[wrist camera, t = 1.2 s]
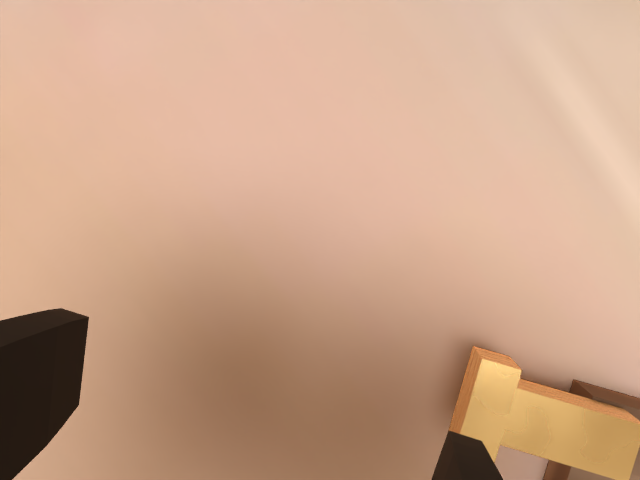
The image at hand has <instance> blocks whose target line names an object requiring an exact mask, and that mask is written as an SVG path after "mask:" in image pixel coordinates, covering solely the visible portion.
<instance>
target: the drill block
mask: <svg viewBox="0 0 640 480" xmlns="http://www.w3.org/2000/svg"><path fill="white" fill-rule="evenodd" d="M570 393H572V394H575V395H578V396H582V397H585V398H589V399H592V400H596V401H599V402H603V403H606V404H609V405H613V406H616V407H620V408H623V409H625V410H626V411H628V412H629V413H630V414H632V415H633V416H634V417H635V418H637V419H638V420H639V421H640V398H636V397H633V396H629V395H626V394H622V393H619V392H615V391H612V390H608V389H605V388H601V387H598V386H594V385H591V384H588V383H584V382H581V381H577V380H573V383H572V387H571V390H570ZM543 480H615V479H612V478H609V477H605V476H602V475H599V474H595V473H592V472H589V471H585V470H582V469H579V468H575V467H572V466H569V465H565V464H562V463H559V462H555V461H552V460H549V462H548V466H547V469H546V472H545V475H544V479H543ZM629 480H640V447H639V450H638V453H637V456H636V459H635V463H634V466H633V469H632V472H631V475H630V479H629Z"/></svg>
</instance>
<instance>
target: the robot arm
mask: <svg viewBox="0 0 640 480" xmlns="http://www.w3.org/2000/svg"><path fill="white" fill-rule="evenodd" d="M88 320H89V317H87V316H84V315H81V314H77V313H74V312H71V311H68V310H65V309H61V308H60V309H52V310H46V311H41V312H36V313H32V314H27V315H23V316H18V317H14V318H10V319H6V320H2V321H0V480H12V479H13V478H14V477H15V476H16V475H17V474H18V473H19V472H20V471H21V470H22V469H23V468H24V467H25V466H26V465H28V464H29V463H30V462H31V461H32V460H33V459H34V458H35V457H36V456H37V455H38V454H39V453H40V452H41V451H42V450H43V449H44V448H45V447H46V446H47V445H48V443H49V442H50V441H51V440H52V438H53V437H54V436H55V435H56V434H57V432H58V431H59V430H60V429H61V427H62V426H63V425H64V424H65V422H66V421H67V420H68V418H69V417H70V416H71V414H72V413H73V412H74V410H75V409H76V408H77V407H78V405H79V399H80V390H81V381H82V373H83V364H84V355H85V346H86V337H87V328H88ZM432 480H503V478H502V477H501V475H500V473H499V471H498V469H497V467H496V466H495V464H494V462H493V460H492V458H491V456H490V454H489V453H488V451H487V449H486V447H485V445H484V444H483V442H482V441H481V440H478V439H474V438H471V437H468V436H465V435H462V434H458V433H455V432H452V431H448V434H447V437H446V440H445V443H444V445H443V448H442V451H441V454H440V457H439V460H438V463H437V465H436V468H435V471H434V474H433V477H432Z"/></svg>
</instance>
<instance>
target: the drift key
mask: <svg viewBox="0 0 640 480" xmlns="http://www.w3.org/2000/svg"><path fill="white" fill-rule="evenodd" d="M521 372H522V370H521V369H520V368H519V366H518V365H517V364H516V363H515V362H514V361H513V360H512V359H511V358H510V357H509V356H506V355H503V354H499V353H496V352H492V351H489V350H485V349H482V348H478V347H475V346H473V348H472V352H471V355H470V359H469V362H468V366H467V369H466V372H465V376H464V379H463V383H462V386H461V390H460V393H459V396H458V400H457V403H456V407H455V410H454V414H453V417H452V420H451V424H450V427H449V431H452V432H455V433H458V434H462V435H465V436H468V437H471V438H474V439H478V440H481V441H482V442H483V444H484V445H485V447H486V449H487V451H488V453H489V454H490V456H491V458H492V460H493V462H494V463H495V459H496V456H497V453H498V449H499V446H500V445H502V446H506V447H509V448H512V449H516V450H519V451H522V452H526V453H529V454H532V455H536V456H539V457H542V458H546V459H549V460H552V461H555V462H559V463H562V464H565V465H569V466H572V467H575V468H579V469H582V470H585V471H589V472H592V473H595V474H599V475H602V476H605V477H609V478H612V479H615V480H629V479H630V475H631V472H632V469H633V466H634V463H635V459H636V456H637V453H638V450H639V447H640V421H639V420H638V419H637V418H635V417H634V416H633V415H632V414H630V413H629V412H628V411H626V410H625V409H623V408H620V407H616V406H613V405H609V404H606V403H603V402H599V401H596V400H592V399H589V398H585V397H582V396H578V395H575V394H572V393H568V392H565V391H561V390H558V389H554V388H551V387H547V386H544V385H541V384H537V383H534V382H530V381H527V380H523V379H520V375H521Z"/></svg>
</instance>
